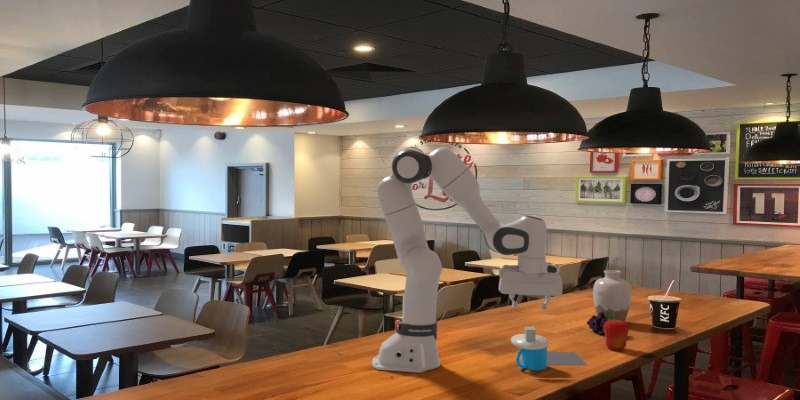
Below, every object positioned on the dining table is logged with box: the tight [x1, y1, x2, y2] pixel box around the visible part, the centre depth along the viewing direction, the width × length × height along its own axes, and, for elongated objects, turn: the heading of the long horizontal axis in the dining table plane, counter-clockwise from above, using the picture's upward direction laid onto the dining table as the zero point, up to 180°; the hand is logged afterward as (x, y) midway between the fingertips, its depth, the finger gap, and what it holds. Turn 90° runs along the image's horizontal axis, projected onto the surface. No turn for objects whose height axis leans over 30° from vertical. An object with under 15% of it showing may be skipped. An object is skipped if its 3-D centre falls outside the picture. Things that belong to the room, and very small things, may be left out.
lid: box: [510, 326, 550, 350], centre depth 199 cm, size 12×12×5 cm
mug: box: [515, 347, 548, 371], centre depth 199 cm, size 12×8×8 cm
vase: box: [592, 269, 632, 322], centre depth 268 cm, size 16×16×23 cm
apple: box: [604, 320, 630, 352], centre depth 225 cm, size 9×8×12 cm
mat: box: [547, 351, 588, 366], centre depth 211 cm, size 16×16×1 cm
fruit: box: [586, 310, 616, 336], centre depth 249 cm, size 10×11×15 cm
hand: (529, 308), depth 199 cm, fingers open, 8 cm apart
